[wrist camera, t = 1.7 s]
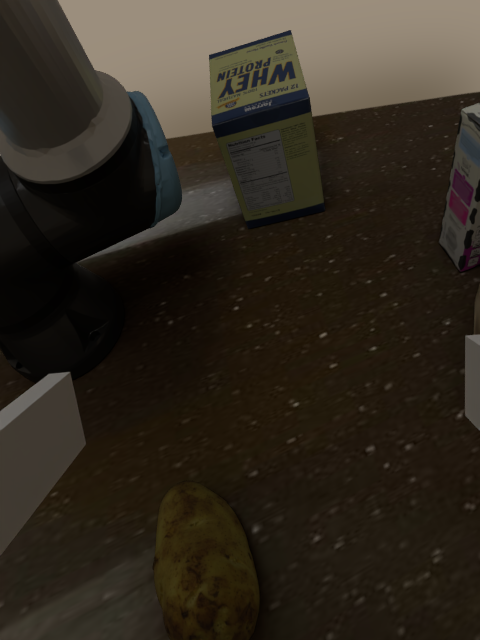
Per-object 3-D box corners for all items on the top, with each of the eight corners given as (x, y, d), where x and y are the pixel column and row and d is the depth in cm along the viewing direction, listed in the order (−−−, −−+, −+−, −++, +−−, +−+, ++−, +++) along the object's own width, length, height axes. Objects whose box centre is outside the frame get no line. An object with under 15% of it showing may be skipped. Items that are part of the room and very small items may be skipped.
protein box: (308, 139, 66) (291, 26, 54) (327, 212, 57) (311, 97, 45) (239, 158, 68) (207, 53, 55) (247, 231, 59) (210, 125, 46)
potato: (259, 479, 41) (236, 452, 35) (276, 655, 34) (251, 662, 27) (173, 492, 42) (136, 468, 36) (171, 664, 35) (124, 673, 29)
